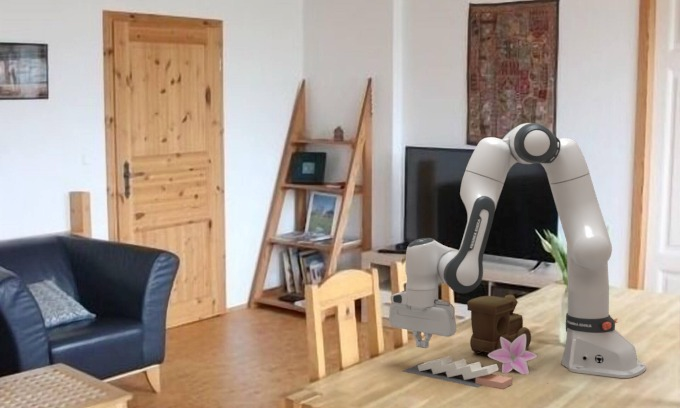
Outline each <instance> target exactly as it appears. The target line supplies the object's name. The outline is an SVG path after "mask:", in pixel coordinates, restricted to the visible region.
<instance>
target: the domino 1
mask: <svg viewBox="0 0 680 408" xmlns="http://www.w3.org/2000/svg"><path fill="white" fill-rule="evenodd" d="M451 362H453V359H452V356H451V355H449V356H445V357H441V358H437V359H433V360H429V361H428V360H427V361H426V362H422V363H423V364H421V365H418V364H417V365H418V369H419V371H423V370H428V369H432V368H436V367H440V366H444V365H446V364H448V363H451Z"/></svg>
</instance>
